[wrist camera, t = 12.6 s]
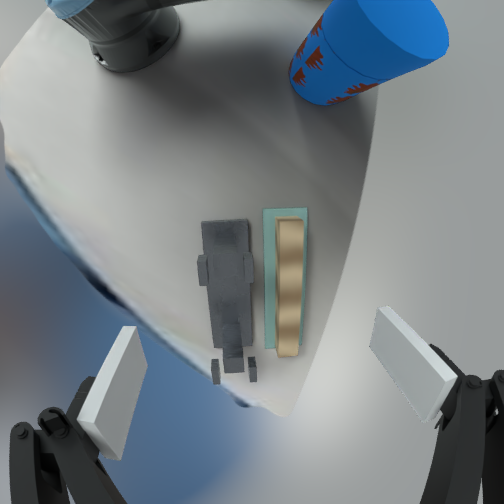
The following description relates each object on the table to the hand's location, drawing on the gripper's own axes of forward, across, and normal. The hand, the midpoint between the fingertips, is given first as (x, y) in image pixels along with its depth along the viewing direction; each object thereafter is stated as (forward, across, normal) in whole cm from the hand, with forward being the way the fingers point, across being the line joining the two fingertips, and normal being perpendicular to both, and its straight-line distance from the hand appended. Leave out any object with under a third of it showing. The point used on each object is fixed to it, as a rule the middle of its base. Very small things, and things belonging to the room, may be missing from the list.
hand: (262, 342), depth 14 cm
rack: (+31, -2, -11) cm, 33 cm away
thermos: (+31, +14, +24) cm, 42 cm away
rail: (+30, +8, -11) cm, 33 cm away
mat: (+31, +8, -11) cm, 33 cm away
